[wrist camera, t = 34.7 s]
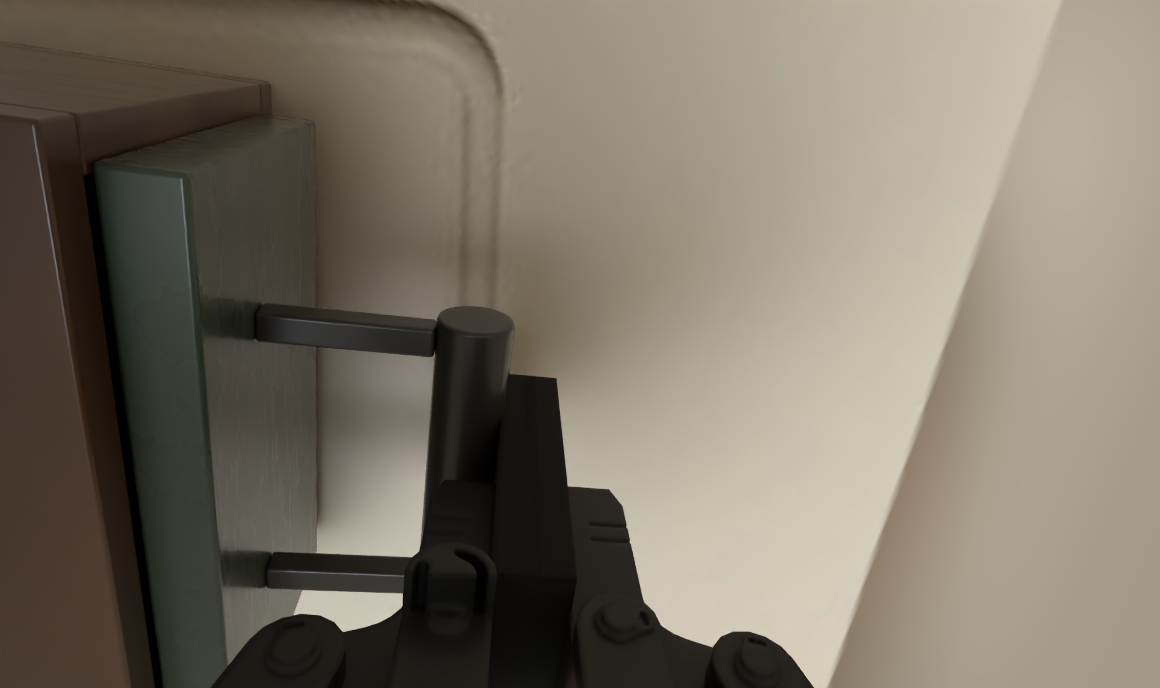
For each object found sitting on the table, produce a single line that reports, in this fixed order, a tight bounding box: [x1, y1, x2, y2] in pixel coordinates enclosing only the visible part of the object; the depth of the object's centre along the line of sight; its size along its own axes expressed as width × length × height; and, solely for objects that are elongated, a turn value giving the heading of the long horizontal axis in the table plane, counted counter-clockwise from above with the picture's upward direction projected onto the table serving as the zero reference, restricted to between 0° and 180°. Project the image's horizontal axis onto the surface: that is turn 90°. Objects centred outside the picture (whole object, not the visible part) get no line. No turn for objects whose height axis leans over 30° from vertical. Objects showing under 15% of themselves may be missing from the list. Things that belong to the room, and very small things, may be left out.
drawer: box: [83, 114, 515, 688], centre depth 14 cm, size 19×12×7 cm, turn 81°
